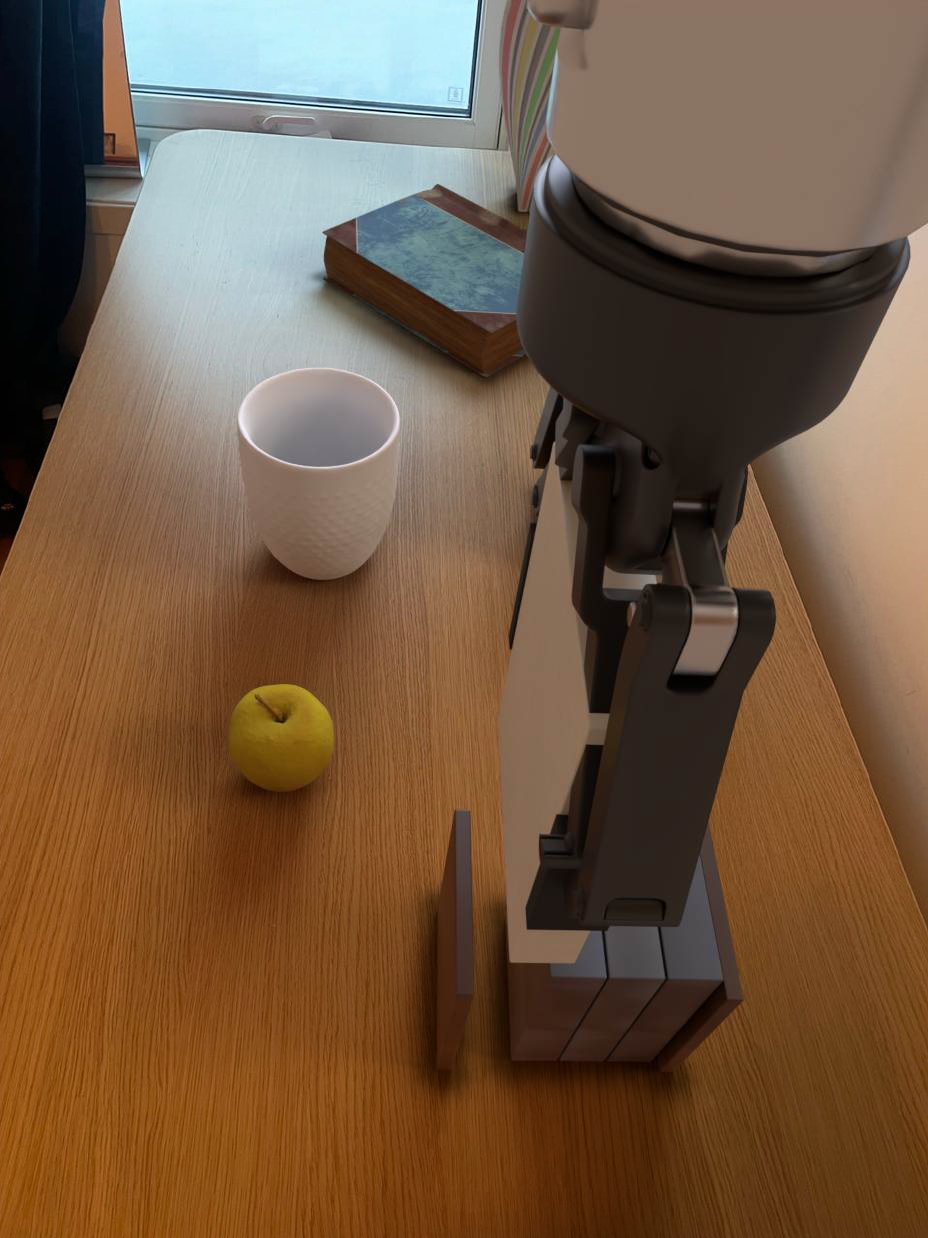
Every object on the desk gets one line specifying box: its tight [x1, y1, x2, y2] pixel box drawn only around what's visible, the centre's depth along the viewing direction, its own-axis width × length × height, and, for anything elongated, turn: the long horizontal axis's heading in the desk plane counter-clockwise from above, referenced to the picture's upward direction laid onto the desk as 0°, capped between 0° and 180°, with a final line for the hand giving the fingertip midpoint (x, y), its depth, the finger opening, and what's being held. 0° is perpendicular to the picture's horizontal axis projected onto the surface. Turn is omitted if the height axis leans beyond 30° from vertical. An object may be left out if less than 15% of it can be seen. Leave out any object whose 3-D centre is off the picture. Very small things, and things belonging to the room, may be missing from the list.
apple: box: [228, 683, 335, 793], centre depth 57 cm, size 6×6×8 cm
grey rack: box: [436, 808, 745, 1073], centre depth 48 cm, size 13×9×13 cm
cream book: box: [497, 442, 658, 963], centre depth 33 cm, size 2×11×16 cm, turn 1°
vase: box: [498, 0, 561, 213], centre depth 101 cm, size 14×14×30 cm
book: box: [321, 183, 528, 379], centre depth 96 cm, size 23×18×5 cm
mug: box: [236, 367, 401, 581], centre depth 69 cm, size 15×11×13 cm
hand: (552, 766), depth 35 cm, fingers closed on cream book, 11 cm apart
